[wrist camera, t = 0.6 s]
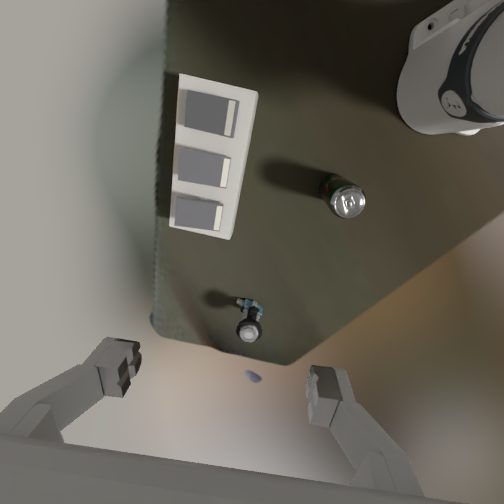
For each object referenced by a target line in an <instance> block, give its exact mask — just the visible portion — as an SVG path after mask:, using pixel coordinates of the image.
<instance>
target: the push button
mask: <svg viewBox="0 0 504 504" xmlns="http://www.w3.org/2000/svg"><path fill="white" fill-rule="evenodd" d="M239 300H240V301H239ZM238 302H240V303H238ZM255 302H256V301H253V302H252V301H250V300H248V299H246V300H245V301H244V300H241V299H239V298H238V299H237V302H236V303H237V304H239V305H240V306H242V307H241V312H243V313H244V314H243V320H242V321H241V322H240V323H239V325H238V326H237V329H236V333H237V335H238V337H239V338H240V339H242V340H244V341H246V342H253V341H256V340H258V339H259V338H260V337H261V335H262V329H261V326H260V324H259V318H260V316H261V315H262V311H263V307H262V306H259V305H258V304H257V302H256V303H255ZM240 327H241V329H240ZM258 330H259V331H258Z"/></svg>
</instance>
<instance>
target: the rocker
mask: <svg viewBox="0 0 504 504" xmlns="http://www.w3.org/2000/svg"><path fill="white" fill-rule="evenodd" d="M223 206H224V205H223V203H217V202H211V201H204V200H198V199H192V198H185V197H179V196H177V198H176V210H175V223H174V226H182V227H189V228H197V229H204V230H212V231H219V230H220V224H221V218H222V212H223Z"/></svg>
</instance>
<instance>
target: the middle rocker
mask: <svg viewBox="0 0 504 504" xmlns="http://www.w3.org/2000/svg"><path fill="white" fill-rule="evenodd" d="M230 162H231V157H227V156H222V155H217V154H212V153H207V152H203V151H198V150H193V149H188V148H183V147H181V148H180V158H179V171H178V180H179V181H185V182H191V183H197V184H202V185H208V186H214V187H220V188H225V189H226V187H227V181H228V175H229V169H230Z"/></svg>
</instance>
